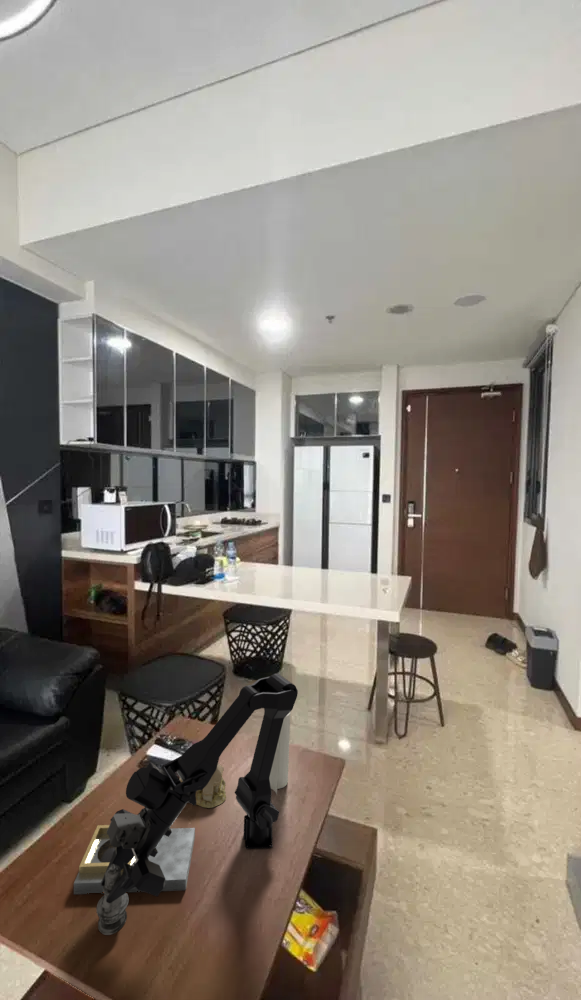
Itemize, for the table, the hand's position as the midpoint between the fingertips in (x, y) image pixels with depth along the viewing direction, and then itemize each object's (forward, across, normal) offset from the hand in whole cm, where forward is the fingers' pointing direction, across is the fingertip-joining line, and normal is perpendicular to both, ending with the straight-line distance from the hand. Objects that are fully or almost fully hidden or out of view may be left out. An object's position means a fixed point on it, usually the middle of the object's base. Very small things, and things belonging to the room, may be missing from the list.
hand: (105, 893), depth 83 cm
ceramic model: (-16, -21, +26) cm, 37 cm away
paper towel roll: (-30, -13, +40) cm, 51 cm away
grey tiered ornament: (+4, 0, +6) cm, 7 cm away
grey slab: (-2, -9, +11) cm, 15 cm away
